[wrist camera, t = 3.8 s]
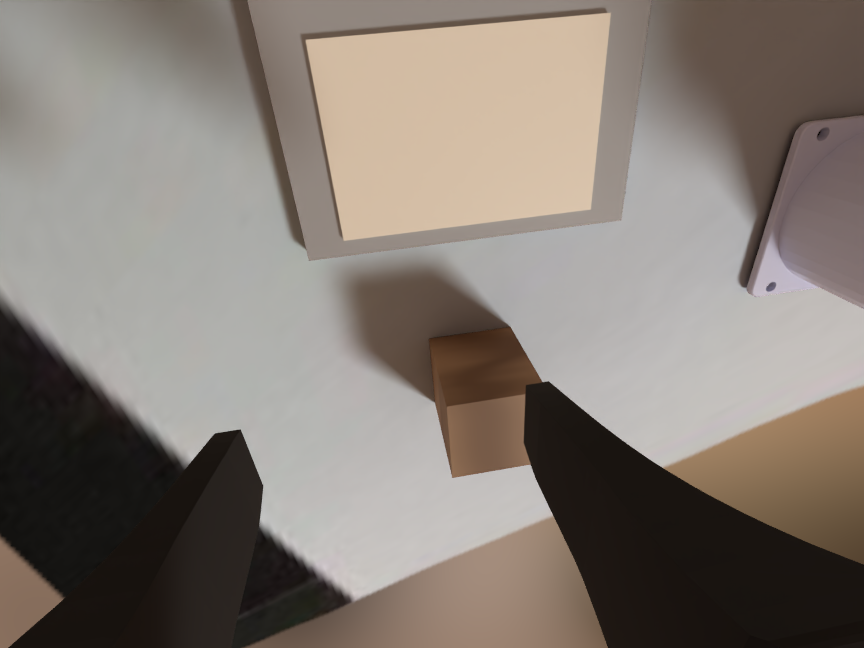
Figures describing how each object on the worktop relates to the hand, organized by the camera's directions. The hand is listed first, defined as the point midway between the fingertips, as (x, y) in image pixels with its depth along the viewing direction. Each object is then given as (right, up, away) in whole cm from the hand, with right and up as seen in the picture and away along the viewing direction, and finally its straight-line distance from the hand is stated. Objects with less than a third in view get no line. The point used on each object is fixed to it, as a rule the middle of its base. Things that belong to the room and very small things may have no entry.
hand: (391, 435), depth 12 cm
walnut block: (+3, +1, +11) cm, 12 cm away
